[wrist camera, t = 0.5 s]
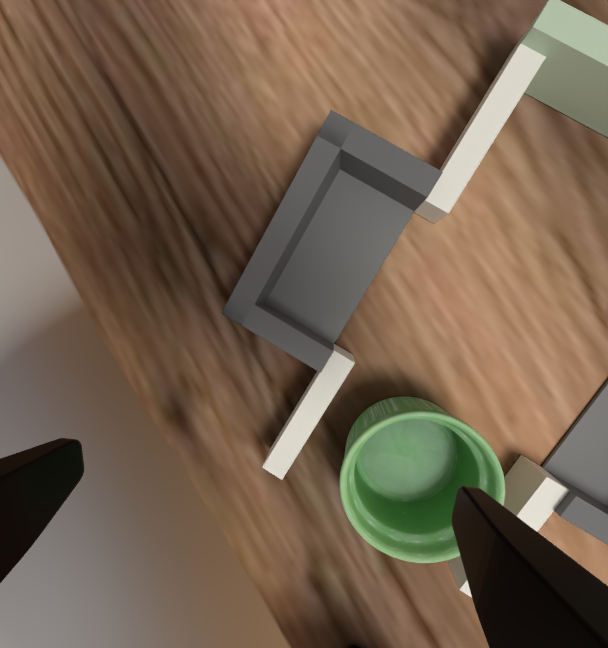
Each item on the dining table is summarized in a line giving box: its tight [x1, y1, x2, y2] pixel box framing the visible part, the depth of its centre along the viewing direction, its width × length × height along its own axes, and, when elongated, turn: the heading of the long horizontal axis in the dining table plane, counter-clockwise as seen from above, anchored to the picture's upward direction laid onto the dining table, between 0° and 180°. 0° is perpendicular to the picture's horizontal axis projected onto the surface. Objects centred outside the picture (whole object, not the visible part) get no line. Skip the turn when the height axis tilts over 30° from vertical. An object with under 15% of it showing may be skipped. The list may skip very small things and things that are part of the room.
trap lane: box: [222, 0, 608, 597], centre depth 18 cm, size 30×30×4 cm
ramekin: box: [339, 396, 505, 563], centre depth 19 cm, size 9×9×4 cm
